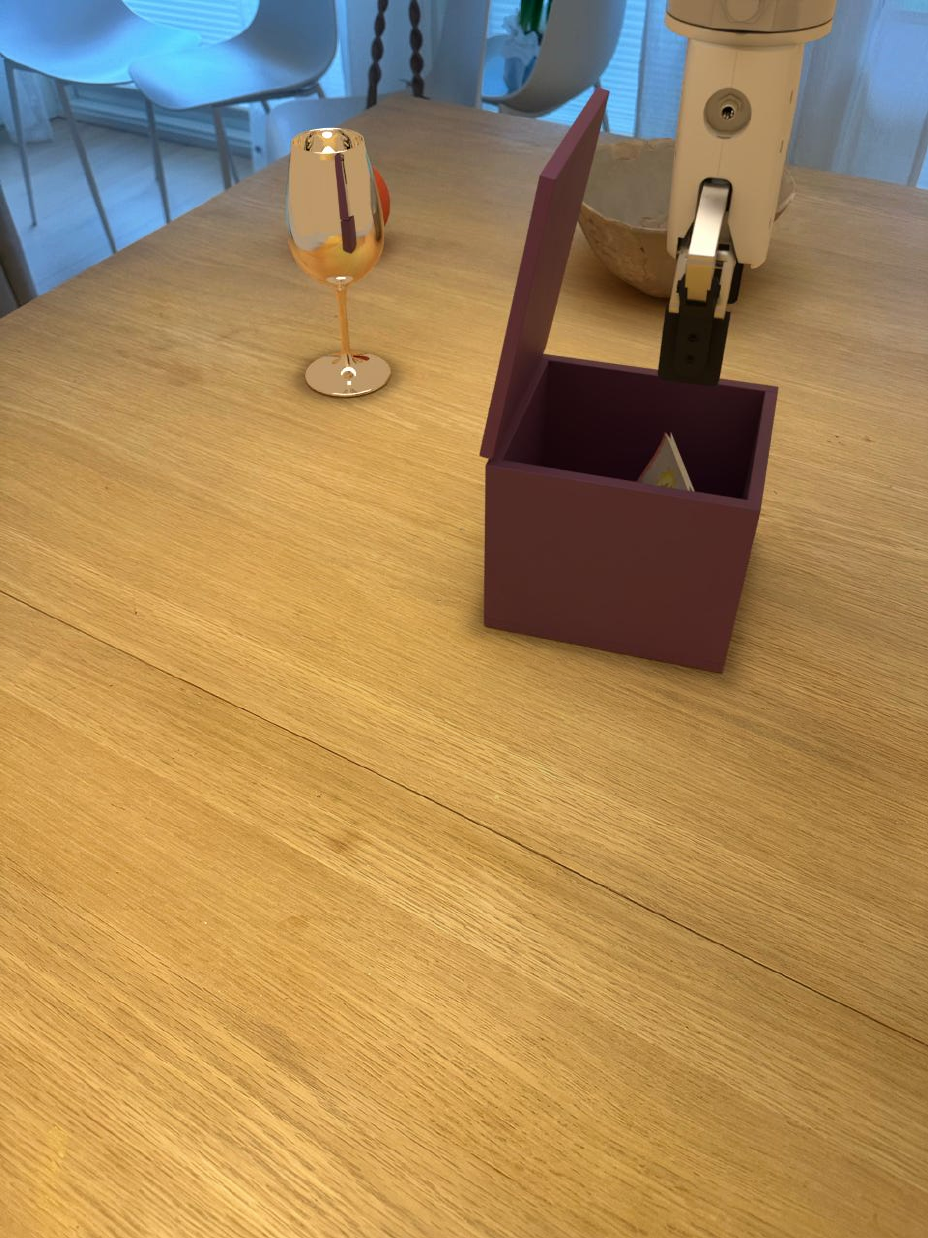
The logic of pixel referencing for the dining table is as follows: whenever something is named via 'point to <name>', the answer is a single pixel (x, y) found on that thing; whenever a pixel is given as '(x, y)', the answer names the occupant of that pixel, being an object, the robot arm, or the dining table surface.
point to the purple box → (625, 511)
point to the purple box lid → (543, 266)
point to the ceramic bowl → (639, 211)
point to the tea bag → (666, 467)
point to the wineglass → (336, 241)
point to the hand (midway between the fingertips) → (699, 337)
